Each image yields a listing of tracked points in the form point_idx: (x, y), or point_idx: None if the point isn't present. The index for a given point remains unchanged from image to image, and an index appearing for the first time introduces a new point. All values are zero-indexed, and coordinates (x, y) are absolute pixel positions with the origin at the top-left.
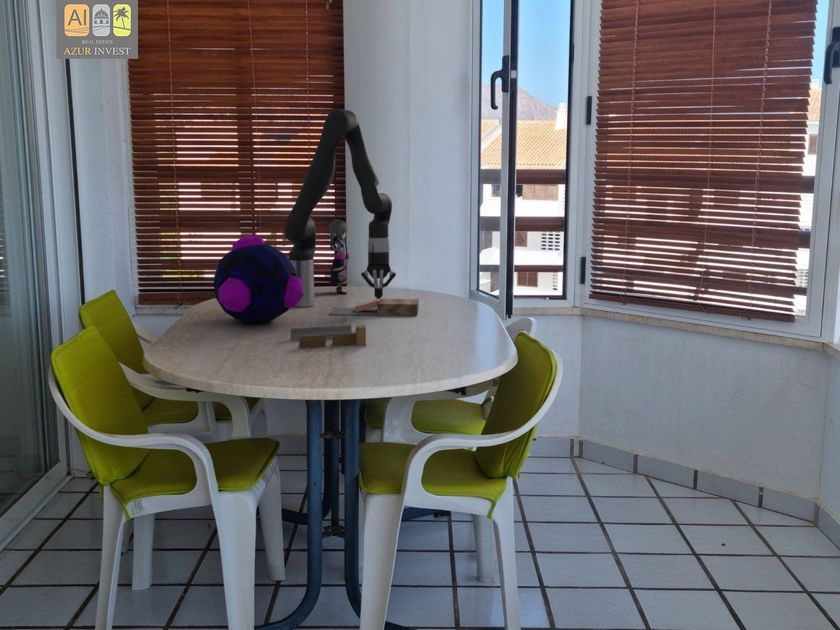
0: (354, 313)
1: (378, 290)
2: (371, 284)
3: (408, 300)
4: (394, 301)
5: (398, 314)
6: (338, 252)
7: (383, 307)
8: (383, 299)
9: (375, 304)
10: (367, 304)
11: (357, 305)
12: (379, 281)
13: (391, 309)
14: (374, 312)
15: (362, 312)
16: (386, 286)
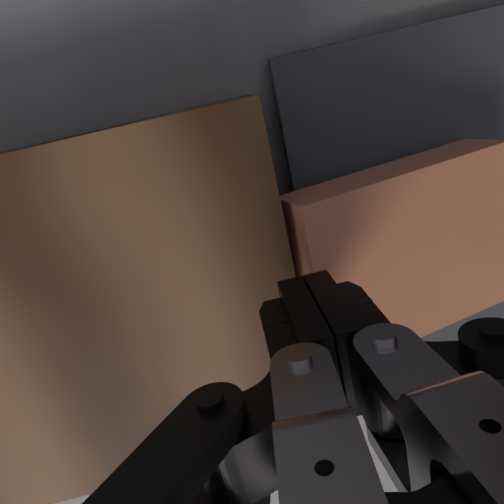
0: (471, 61)
1: (324, 322)
2: (491, 341)
3: (5, 430)
4: (123, 328)
5: (37, 144)
6: None
7: (182, 111)
8: None
9: (306, 195)
10: (393, 176)
11: (495, 197)
12: (349, 407)
13: (95, 131)
14: (298, 174)
15: (407, 140)
16: (196, 390)
